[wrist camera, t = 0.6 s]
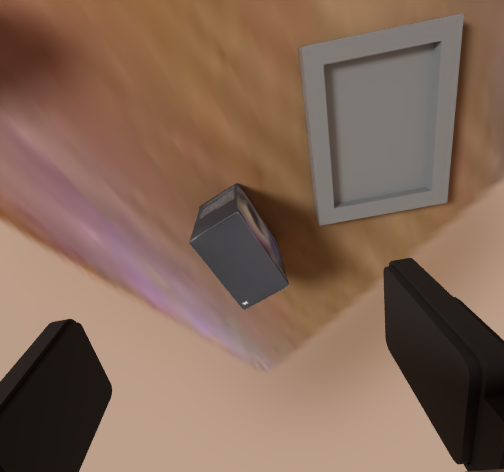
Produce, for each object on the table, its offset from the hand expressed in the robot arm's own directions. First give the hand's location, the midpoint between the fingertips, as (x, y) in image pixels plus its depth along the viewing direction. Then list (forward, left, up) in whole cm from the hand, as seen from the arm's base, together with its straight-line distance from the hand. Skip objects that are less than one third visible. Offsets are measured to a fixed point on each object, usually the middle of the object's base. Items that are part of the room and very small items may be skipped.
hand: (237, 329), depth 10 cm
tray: (+2, +16, -32) cm, 36 cm away
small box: (+11, -2, -32) cm, 34 cm away
